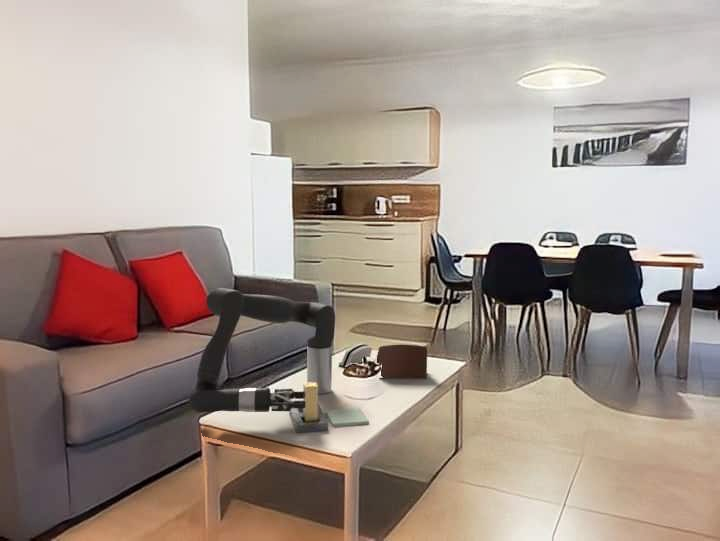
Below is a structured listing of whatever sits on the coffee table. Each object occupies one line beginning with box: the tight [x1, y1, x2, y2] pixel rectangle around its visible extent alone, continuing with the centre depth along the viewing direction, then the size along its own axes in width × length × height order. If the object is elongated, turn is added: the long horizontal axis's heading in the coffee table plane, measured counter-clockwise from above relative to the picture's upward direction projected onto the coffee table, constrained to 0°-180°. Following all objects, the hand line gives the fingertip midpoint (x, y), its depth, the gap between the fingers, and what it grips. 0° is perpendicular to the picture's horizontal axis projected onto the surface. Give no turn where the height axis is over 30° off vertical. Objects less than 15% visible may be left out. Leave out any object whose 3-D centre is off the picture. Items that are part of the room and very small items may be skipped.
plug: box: [302, 382, 319, 423], centre depth 198 cm, size 4×4×14 cm
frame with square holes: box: [288, 403, 329, 434], centre depth 203 cm, size 18×10×2 cm, turn 14°
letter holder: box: [376, 344, 428, 380], centre depth 254 cm, size 10×20×14 cm, turn 92°
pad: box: [325, 407, 370, 428], centre depth 206 cm, size 12×12×1 cm
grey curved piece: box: [338, 342, 373, 367], centre depth 270 cm, size 17×5×10 cm, turn 144°
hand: (305, 399), depth 198 cm, fingers open, 8 cm apart
